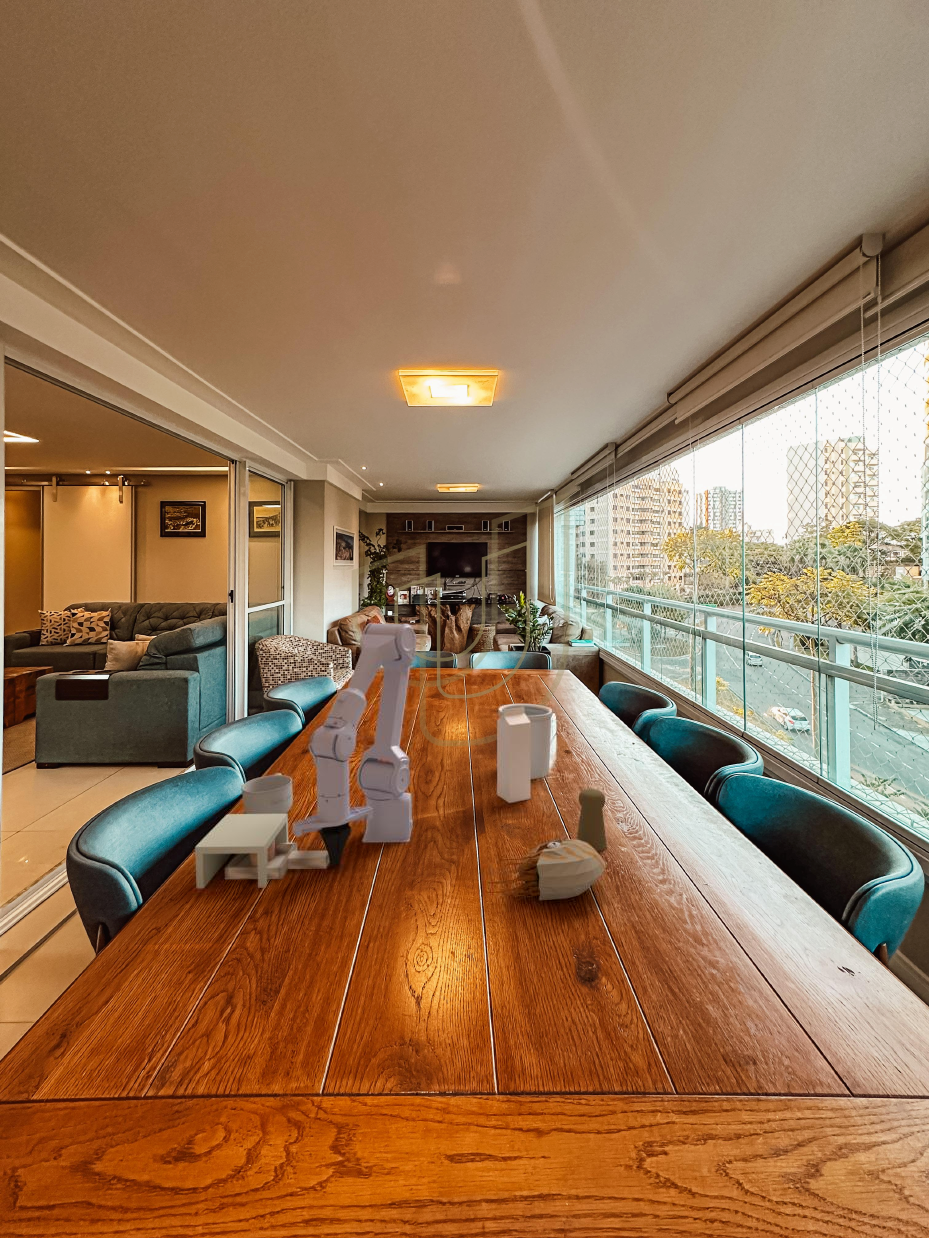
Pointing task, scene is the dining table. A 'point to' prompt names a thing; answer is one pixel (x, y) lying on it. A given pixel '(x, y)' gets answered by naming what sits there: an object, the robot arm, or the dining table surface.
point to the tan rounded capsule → (271, 851)
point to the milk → (513, 755)
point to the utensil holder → (537, 736)
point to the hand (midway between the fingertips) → (334, 864)
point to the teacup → (268, 795)
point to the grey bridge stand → (239, 843)
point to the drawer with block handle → (277, 862)
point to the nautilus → (556, 870)
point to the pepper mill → (592, 819)
